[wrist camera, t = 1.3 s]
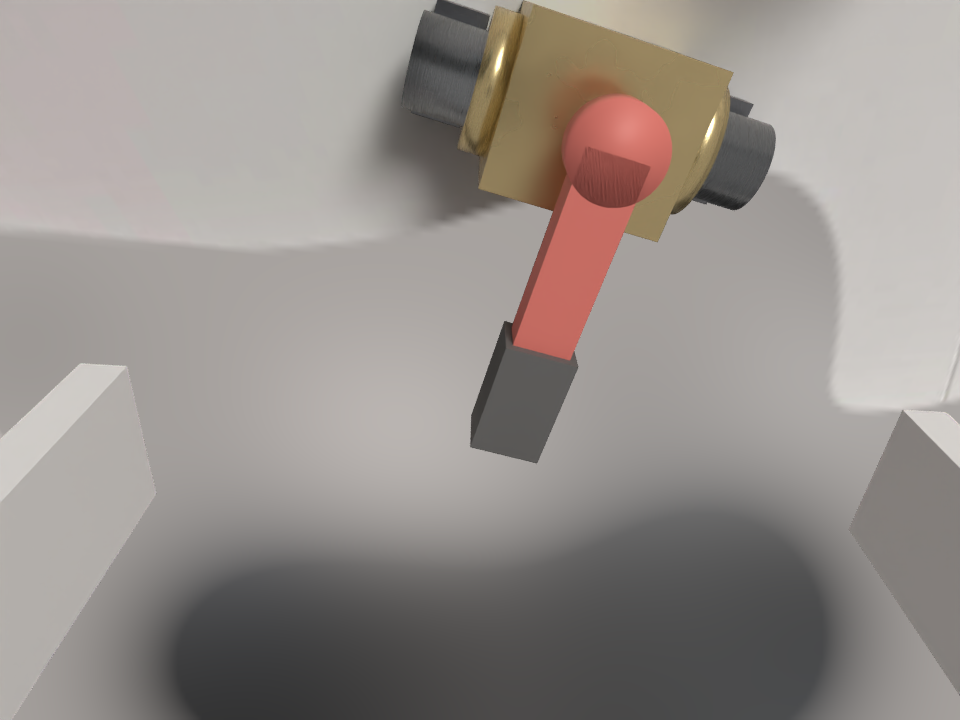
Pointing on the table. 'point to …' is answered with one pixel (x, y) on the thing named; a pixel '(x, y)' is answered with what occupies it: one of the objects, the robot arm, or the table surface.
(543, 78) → the valve body
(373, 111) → the table surface
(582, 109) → the lever
